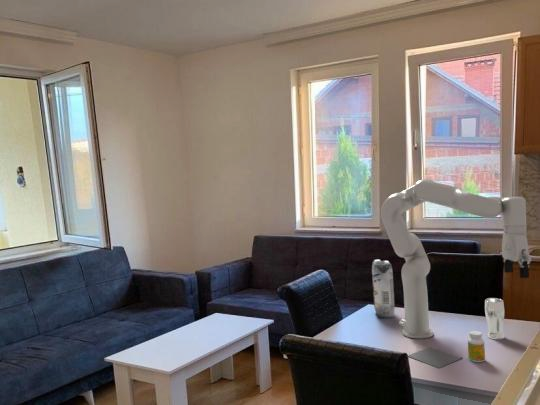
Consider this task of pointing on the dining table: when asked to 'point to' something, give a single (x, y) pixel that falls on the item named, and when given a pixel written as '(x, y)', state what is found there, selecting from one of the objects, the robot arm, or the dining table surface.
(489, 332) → the beer glass
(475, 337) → the supplement bottle
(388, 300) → the juice carton
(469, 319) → the dining table surface
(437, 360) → the felt mat
